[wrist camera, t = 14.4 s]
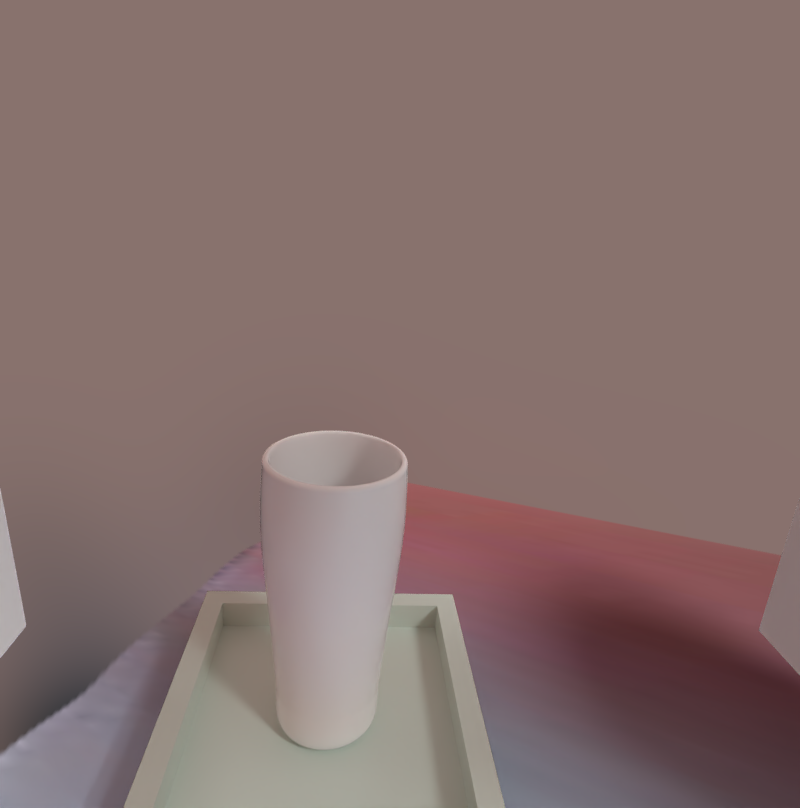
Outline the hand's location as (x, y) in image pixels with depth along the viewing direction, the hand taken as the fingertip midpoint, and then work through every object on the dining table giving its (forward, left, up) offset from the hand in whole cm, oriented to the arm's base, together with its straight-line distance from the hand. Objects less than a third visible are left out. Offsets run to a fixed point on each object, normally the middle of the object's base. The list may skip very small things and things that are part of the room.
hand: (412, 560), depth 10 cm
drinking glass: (+2, -16, -20) cm, 26 cm away
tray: (+2, -16, -21) cm, 27 cm away
